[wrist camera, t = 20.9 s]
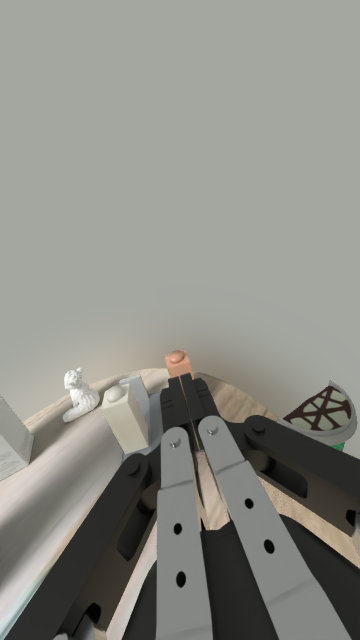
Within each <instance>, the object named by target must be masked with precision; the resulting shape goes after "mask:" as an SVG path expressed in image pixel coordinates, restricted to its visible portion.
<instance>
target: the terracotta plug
mask: <svg viewBox="0 0 360 640" xmlns="http://www.w3.org/2000/svg"><path fill="white" fill-rule="evenodd" d="M165 359H166V364H167V369H168V372H169V376H170V378H173V377H176V376H179V379H180V375H183V374H186V373H189V372H190V374H191V376H192V379H193V380H194V377H193V373H192V369H191V366H190V362H189V359H188V356H187V354H186V351H185V350H184V351H173V352H171V353H170V354H169V355H167V356H165ZM180 382H181V379H180ZM181 385H182V383H181ZM182 389H183V387H182ZM183 392H184V391H183ZM184 395H185V394H184ZM185 399H186V398H185ZM186 403H187V402H186Z"/></svg>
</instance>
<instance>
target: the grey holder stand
mask: <svg viewBox="0 0 360 640" xmlns="http://www.w3.org/2000/svg"><path fill="white" fill-rule="evenodd" d="M119 384H120V386H123V385H126V384H129V385H130V387H131V389H132V391H133V394H134V396H135V398H136V401H137V403H138V405H139V407H140V410H141V412H142V414H143V416H144V419H145V421H146V423H147V426H148V446H149V447H147V448H144V449H141V450H138V451H135V452H132V453H129V454H126V455H125V453H124V451H123V454H122V463H123V462H124V460H125V459H126V458H127V457H129V456H130V455H132V454H135V453H142V454H144V455H145V456H146V455H147V454H148V453H150V452H151V451H153V450H154V449H155V448H156V447H157V446H158V445H159V444H160V442H161V439H162V437H163V424H162V415H161V404H160V394H161V392H158V393H154V394H151V395H148V393H147V391H146V388H145V386H144V383H143V381H142V378H141V376H140V374H139V375H136V376H132V377H129V378H126V379H123V380H120V381H119ZM189 414H190V413H189ZM190 418H191V417H190ZM191 422H192V421H191ZM192 425H193V424H192ZM193 429H194V428H193ZM194 433H195V431H194ZM195 437H196V434H195ZM196 441H197V438H196ZM197 444H198V441H197ZM198 448H199V451H198V452H196V453H199V452H202V451H204V450H201V451H200V447H199V444H198Z"/></svg>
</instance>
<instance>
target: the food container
mask: <svg viewBox="0 0 360 640" xmlns="http://www.w3.org/2000/svg"><path fill="white" fill-rule="evenodd" d="M277 423H279V424H281V425H284V426H286V427H288V428H290V429H293V430H295V431H297V432H299V433H302V434H304V435H306V436H308V437H310V438H313V439H315V440H317V441H319V442H322V443H324V444H326V445H328V446H331V447H333V448H335V449H337V450H339V451H342V450H343V447H344V444H345V441H346V440H348V439H349V438H350V437H351V436H352V435H353V434H354V433H355V430H356V428H357V417H356V412H355V408H354V405H353V403H352V402H351V399H350V398H349V396H348V395H347V394H346V392H345V391H344V390H343V389H341V388H340V387H339V386H338V385H336V384H335V383H333V382H332V381H329V386H328V387H326V388H325V389H324V390H323V391H321V392H320V393H318V394H317V395H315V396H313V397H311V398H309V399H308V400H306V401H305V402H304V403H302V404H301V405H300V406H299V407H298V408H297V409H296V410H294V411H293V412H291V413H290V414H289V415H287V416H286V417H284V418H283V419H282V418H281V417H279V416H278V420H277Z"/></svg>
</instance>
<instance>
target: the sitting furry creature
mask: <svg viewBox="0 0 360 640" xmlns="http://www.w3.org/2000/svg"><path fill="white" fill-rule="evenodd" d="M82 372H83V370H82V368H78V369H77V370H71V371H69V372H68V373H66V375H65V389H68V390H70V395H71V398H72V402H73V408H71V409H69V410H68V411H67V412H66V413H65V414H64V415H63V421H64V422H70V421H71V422H72V421H73V420H74V419H77V418H78V417H80V416H82V415H84V414H86V413H87V412H90V411H92V410H93V409H94V408H95V407H96V406H97V405H98V402H99V400H100V397H99V394H98V392H97V391H95V390H93V389H92V388H90V387H89V386H88V385H87V384H86V383H84V382H82V375H81V373H82Z"/></svg>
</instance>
